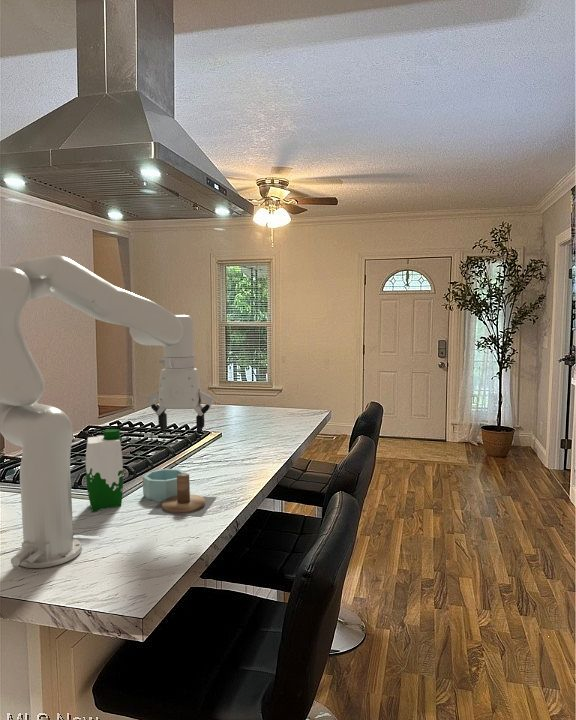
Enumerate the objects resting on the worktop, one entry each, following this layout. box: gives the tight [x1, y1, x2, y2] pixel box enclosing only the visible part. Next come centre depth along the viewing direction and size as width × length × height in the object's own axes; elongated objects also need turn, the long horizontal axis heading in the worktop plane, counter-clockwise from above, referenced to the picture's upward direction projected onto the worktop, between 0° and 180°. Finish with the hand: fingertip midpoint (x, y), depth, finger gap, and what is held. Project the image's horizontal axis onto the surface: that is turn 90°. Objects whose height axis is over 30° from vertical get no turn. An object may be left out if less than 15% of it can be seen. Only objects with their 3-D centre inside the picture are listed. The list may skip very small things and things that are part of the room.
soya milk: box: [85, 428, 124, 513], centre depth 140 cm, size 9×9×20 cm
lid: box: [162, 472, 205, 513], centre depth 139 cm, size 11×11×8 cm
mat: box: [147, 496, 218, 518], centre depth 139 cm, size 14×14×1 cm
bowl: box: [142, 468, 188, 502], centre depth 148 cm, size 11×11×6 cm
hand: (181, 429), depth 137 cm, fingers open, 9 cm apart
